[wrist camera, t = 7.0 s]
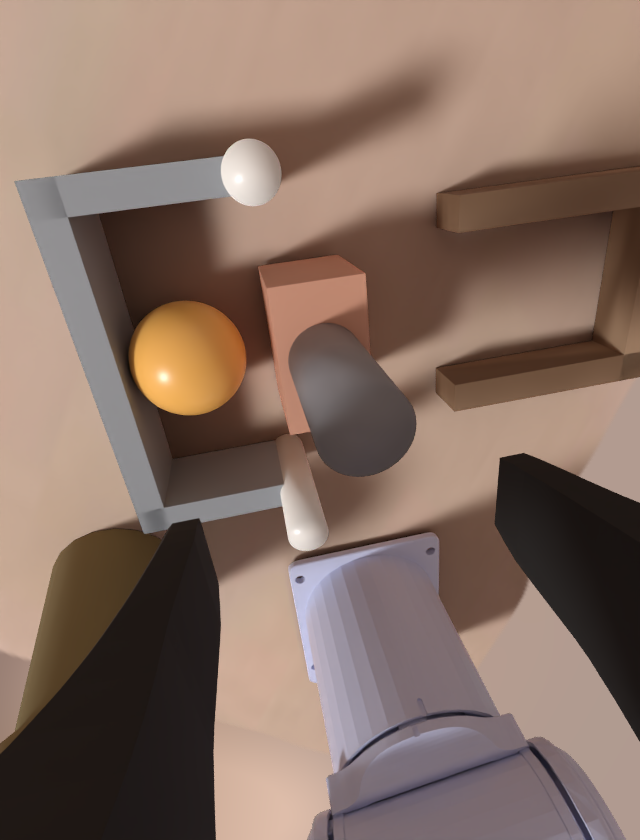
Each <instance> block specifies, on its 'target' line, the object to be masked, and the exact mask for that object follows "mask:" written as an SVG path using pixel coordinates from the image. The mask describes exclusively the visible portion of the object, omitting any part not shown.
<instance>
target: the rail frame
mask: <svg viewBox="0 0 640 840" xmlns="http://www.w3.org/2000/svg"><path fill="white" fill-rule="evenodd" d="M608 211H613V215H612V221H611V227H610V233H609V240H608V246H607V252H606V258H605V264H604V270H603V276H602V282H601V288H600V295H599V301H598V307H597V313H596V319H595V325H594V331H593V337H592V341H587V342H581V343H575V344H569V345H564V346H558V347H552V348H547V349H541V350H535V351H530V352H524V353H518V354H513V355H507V356H501V357H496V358H490V359H484V360H478V361H473V362H467V363H461V364H456V365H450V366H444V367H439V368H436V393H437V394H438V395H439V396H440V397H441V398H442V399H443V400H444V401H445V402H446V403H447V404H448V405H449V406H450V407H451V408H452V409H453V410H454V412H455V411H460V410H466V409H471V408H476V407H482V406H487V405H493V404H498V403H503V402H509V401H514V400H519V399H525V398H530V397H535V396H541V395H546V394H551V393H557V392H562V391H567V390H573V389H578V388H583V387H589V386H594V385H600V384H605V383H610V382H616V381H621V380H626V379H632V378H637V377H640V166H637V167H629V168H622V169H614V170H607V171H600V172H592V173H585V174H577V175H570V176H562V177H555V178H548V179H540V180H533V181H525V182H518V183H511V184H503V185H496V186H488V187H481V188H473V189H466V190H459V191H451V192H444V193H437V224H436V228H439V229H444V230H448V231H452V232H456V233H463V232H470V231H477V230H484V229H491V228H498V227H505V226H511V225H518V224H525V223H532V222H539V221H546V220H553V219H560V218H567V217H574V216H580V215H587V214H594V213H601V212H608Z"/></svg>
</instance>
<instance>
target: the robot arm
mask: <svg viewBox="0 0 640 840" xmlns="http://www.w3.org/2000/svg"><path fill="white" fill-rule="evenodd" d="M495 526H496V527H497V529H498V531H499V533H500V535H501V536H502V538H503V540H504V542H505V544H506V545H507V547H508V549H509V550H510V552H511V554H512V556H513V557H514V559H515V560H516V562H517V563H518V564H519V566H520V567H521V569H522V570H523V571H524V573H525V574H526V575H527V577H528V578H529V579H530V581H531V582H532V583H533V584H534V586H535V587H536V588H537V590H538V591H539V592H540V594H541V595H542V596H543V598H544V599H545V600H546V601H547V603H548V604H549V605H550V607H551V608H552V609H553V611H554V612H555V613H556V615H557V616H558V617H559V618H560V620H561V621H562V622H563V624H564V625H565V626H566V627H567V629H568V630H569V631H570V632H571V634H572V635H573V637H574V638H575V639H576V641H577V642H578V643H579V645H580V646H581V648H582V649H583V650H584V652H585V653H586V655H587V656H588V657H589V659H590V661H591V662H592V664H593V666H594V667H595V668H596V670H597V672H598V674H599V675H600V677H601V678H602V680H603V681H604V683H605V685H606V686H607V688H608V689H609V691H610V693H611V694H612V696H613V697H614V699H615V701H616V702H617V704H618V706H619V707H620V709H621V711H622V712H623V714H624V716H625V718H626V719H627V721H628V723H629V724H630V726H631V728H632V729H633V731H634V733H635V734H636V736H637V738H638V740H639V741H640V503H639V502H636V501H634V500H631V499H629V498H627V497H624V496H622V495H619V494H617V493H614V492H612V491H610V490H608V489H605V488H603V487H601V486H599V485H596V484H594V483H592V482H589V481H587V480H585V479H583V478H581V477H578V476H576V475H574V474H572V473H570V472H567V471H565V470H563V469H561V468H559V467H556V466H554V465H552V464H549V463H547V462H545V461H543V460H540V459H538V458H535V457H533V456H530V455H528V454H525V453H522V454H517V455H512V456H507V457H502V458H500V464H499V476H498V489H497V501H496V514H495ZM431 547H432V548H431ZM428 548H431V549H429V550H427V549H428ZM288 571H289V576H290V581H291V587H292V592H293V597H294V602H295V607H296V613H297V618H298V623H299V628H300V633H301V639H302V644H303V649H304V654H305V659H306V665H307V670H308V675H309V679H310V681H312V682H314V683H317V685H318V690H319V695H320V701H321V706H322V712H323V717H324V722H325V728H326V733H327V738H328V744H329V749H330V755H331V759H332V765H333V770H334V774H332V775H329V776H328V777H327V778H326V782H327V788H328V794H329V800H330V805H331V810H330V809H329V810H326V811H323V812H320V813H319V814H317V815H316V816H315V818H314V821H313V824H312V829H311V831H310V833H309V836H308V838H307V840H626V838H625V837H624V835H623V833H622V831H621V829H620V827H619V826H618V824H617V822H616V820H615V819H614V817H613V815H612V813H611V812H610V810H609V808H608V807H607V805H606V804H605V802H604V800H603V798H602V797H601V795H600V794H599V792H598V791H597V789H596V788H595V786H594V785H593V783H592V782H591V780H590V779H589V778H588V776H587V775H586V774H585V772H584V771H583V770H582V768H581V767H580V766H579V765H578V764H577V762H576V761H575V760H574V759H573V758H572V757H571V756H570V755H568V754H567V753H566V752H565V751H563V750H561V749H560V748H558V747H556V746H554V745H553V744H552V743H551V742H550V741H548V740H546V739H545V738H543V737H534V738H532V739H528V740H525V738H524V736H523V734H522V732H521V731H520V728H519V727H518V725H517V723H516V721H515V719H514V717H513V715H512V714H510V713H508V714H504V715H501V716H500V714H499V712H498V710H497V708H496V707H495V705H494V703H493V701H492V699H491V697H490V695H489V693H488V691H487V689H486V687H485V685H484V683H483V682H482V679H481V677H480V676H479V674H478V672H477V670H476V668H475V666H474V664H473V662H472V660H471V658H470V656H469V654H468V652H467V650H466V648H465V646H464V644H463V642H462V640H461V639H460V637H459V635H458V633H457V631H456V629H455V627H454V625H453V623H452V621H451V619H450V617H449V615H448V613H447V611H446V609H445V607H444V605H443V604H442V602H441V600H440V598H439V539H438V537H437V535H436V534H435V533H432V532H428V533H423V534H418V535H414V536H409V537H404V538H400V539H395V540H390V541H386V542H381V543H376V544H372V545H367V546H362V547H358V548H353V549H348V550H344V551H339V552H334V553H330V554H325V555H320V556H316V557H311V558H306V559H302V560H297V561H294V562H292V563H291V564H290V565H289V568H288ZM298 576H303V577H301V578H297V577H298ZM220 631H221V620H220V599H219V583H218V580H217V576H216V573H215V569H214V566H213V563H212V559H211V556H210V552H209V549H208V545H207V542H206V539H205V535H204V532H203V528H202V525H201V521H200V518H197V519H192V520H187V521H182V522H177V523H172V524H171V526H170V527H169V528H168V530H167V532H166V534H165V535H164V537H163V539H162V541H161V543H160V545H159V546H158V548H157V550H156V552H155V553H154V555H153V557H152V559H151V560H150V562H149V564H148V566H147V567H146V569H145V571H144V572H143V574H142V576H141V577H140V579H139V580H138V582H137V584H136V585H135V587H134V588H133V590H132V592H131V593H130V595H129V597H128V598H127V600H126V601H125V603H124V604H123V606H122V607H121V609H120V610H119V612H118V613H117V614H116V616H115V617H114V619H113V620H112V622H111V623H110V625H109V626H108V628H107V629H106V630H105V632H104V633H103V635H102V636H101V638H100V639H99V640H98V642H97V643H96V644H95V646H94V647H93V648H92V650H91V651H90V652H89V654H88V655H87V656H86V658H85V659H84V660H83V661H82V663H81V664H80V665H79V667H78V668H77V669H76V670H75V671H74V673H73V674H72V675H71V676H70V678H69V679H68V680H67V681H66V683H65V684H64V685H63V686H62V687H61V689H60V690H59V691H58V692H57V693H56V694H55V695H54V697H53V698H52V699H51V700H50V701H49V702H48V703H47V704H46V706H45V707H44V708H43V709H42V710H41V711H40V712H39V713H38V714H37V715H36V716H35V718H34V719H33V720H32V721H31V722H30V723H29V724H28V725H27V726H26V727H25V729H24V730H23V731H22V732H21V733H20V734H19V735H18V736H17V737H16V738H15V739H14V740H13V742H12V743H11V744H10V745H9V746H8V747H7V748H6V749H5V750H4V751H3V752H2V753H1V754H0V840H216V832H215V801H214V760H213V749H214V722H215V708H216V693H217V678H218V663H219V647H220Z"/></svg>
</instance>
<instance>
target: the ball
mask: <svg viewBox="0 0 640 840" xmlns="http://www.w3.org/2000/svg"><path fill="white" fill-rule="evenodd" d="M128 360H129V367H130V371H131V375H132V377H133V379H134V382H135V383H136V385H137V387H138V388H139V390H140V391H141V392H142V394H143V395H144V396H145V397H146V398H147V399H148V400H149V401H151V402H152V403H153V404H155V405H156V406H158V407H159V408H161V409H163V410H166V411H168V412H171V413H175V414H180V415H199V414H204V413H207V412H210V411H213V410H215V409H217V408H219V407H220V406H222V405H223V404H225V403H226V402H227V401H228V400H229V399H230V398H231V397H232V396H233V395H234V394H235V393H236V391H237V390H238V388H239V386H240V385H241V383H242V380H243V377H244V374H245V370H246V350H245V346H244V342H243V339H242V337H241V335H240V333H239V331H238V329H237V328H236V326H235V325H234V324H233V322H232V321H231V320H230V319H229V318H228V317H227V316H225V315H224V314H223V313H222V312H220V311H219V310H217V309H216V308H214V307H212V306H209V305H207V304H204V303H201V302H196V301H185V300H184V301H175V302H170V303H167V304H164V305H162V306H160V307H158V308H156V309H154V310H153V311H151V312H150V313H148V314H147V315H146V316H145V317H144V318H143V319H142V320H141V322H140V323H139V324H138V326H137V327H136V329H135V331H134V333H133V335H132V338H131V341H130V345H129V352H128Z"/></svg>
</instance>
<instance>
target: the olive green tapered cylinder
mask: <svg viewBox="0 0 640 840" xmlns="http://www.w3.org/2000/svg"><path fill="white" fill-rule="evenodd" d="M161 541H162V540H160V539H159V538H157V537H155V536H152V535H149V534H144V533H143V532H140V531H137V530H127V529H109V530H103V531H97V532H92V533H90V534H88V535H85V536H83V537H81V538H79V539H76V540H74V541H73V542H72V543H71V544H70V545H68V546H67V547H66V548H65V549H64V550H63V551H62V552H61V553H60V554H59V556H58V558H57V560H56V562H55V564H54V566H53V569H52V574H51V578H50V582H49V587H48V591H47V595H46V599H45V604H44V608H43V612H42V617H41V621H40V625H39V629H38V634H37V638H36V642H35V647H34V651H33V655H32V659H31V664H30V668H29V672H28V677H27V681H26V685H25V690H24V694H23V698H22V702H21V707H20V711H19V715H18V720H17V724H16V728H15V732H14V733H13V734H12V735H10V736H9V737H8V738H7V739H5V740H4V741H3V742H2V743H0V754H1V753H2V752H3V751H4V750H5V749H6V748H7V747H8V746H9V745H10V744H11V743H12V742H13V740H14V739H15V738H16V737H17V736H18V735H19V734H20V733H21V732H22V731H23V730H24V729H25V727H26V726H27V725H28V724H29V723H30V722H31V721H32V720H33V719H34V718H35V716H36V715H37V714H38V713H39V712H40V711H41V710H42V709H43V708H44V707H45V706H46V704H47V703H48V702H49V701H50V700H51V699H52V698H53V697H54V695H55V694H56V693H57V692H58V691H59V690H60V689H61V687H62V686H63V685H64V684H65V683H66V681H67V680H68V679H69V678H70V676H71V675H72V674H73V673H74V671H75V670H76V669H77V668H78V667H79V665H80V664H81V663H82V661H83V660H84V659H85V658H86V656H87V655H88V654H89V652H90V651H91V650H92V648H93V647H94V646H95V644H96V643H97V642H98V640H99V639H100V638H101V636H102V635H103V633H104V632H105V630H106V629H107V628H108V626H109V625H110V623H111V622H112V620H113V619H114V617H115V616H116V614H117V613H118V612H119V610H120V609H121V607H122V606H123V604H124V603H125V601H126V600H127V598H128V597H129V595H130V593H131V592H132V590H133V588H134V587H135V585H136V584H137V582H138V580H139V579H140V577H141V576H142V574H143V572H144V571H145V569H146V567H147V566H148V564H149V562H150V560H151V559H152V557H153V555H154V553H155V552H156V550H157V548H158V546H159V545H160V543H161Z"/></svg>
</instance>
